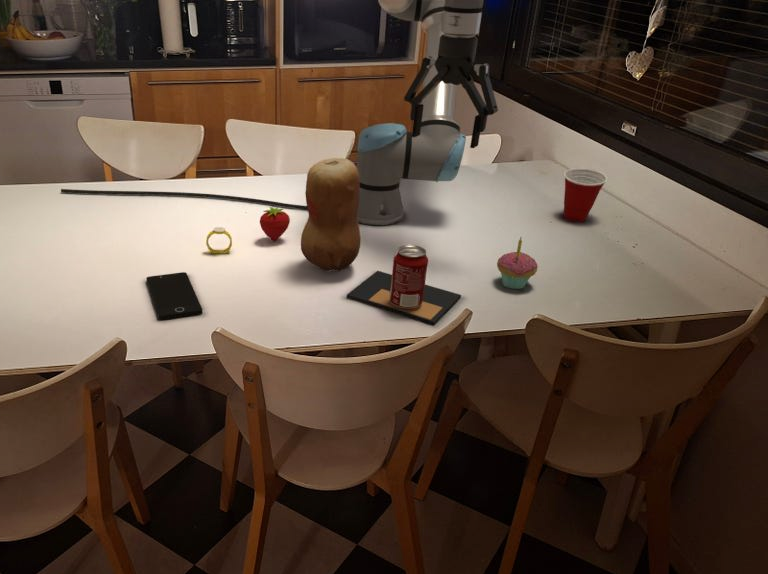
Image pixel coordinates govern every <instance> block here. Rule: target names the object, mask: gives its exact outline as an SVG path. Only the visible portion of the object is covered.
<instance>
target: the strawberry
mask: <svg viewBox="0 0 768 574" xmlns="http://www.w3.org/2000/svg"><path fill="white" fill-rule="evenodd" d="M274 206H276V205H275V204H274V205H272V206H270V207H269V209H265V210H263V211H262V212H263V214H262V215H261V216H260V217H259V218H260V219H259V226H260V228H261V230H262V231H263V233H264V234H265V235H266V237H268V238H269V239H270V240H271V241H272V242H277V241H278V240H279V239H280V238H281V237H282V235H284V233H285V232H286V231H287V230H288V228H289V225H290V222H291V219H290V215H288V213H287V212H285V211H283V210H284V208H278V207H275V208H274Z"/></svg>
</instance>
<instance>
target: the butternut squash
mask: <svg viewBox="0 0 768 574" xmlns="http://www.w3.org/2000/svg"><path fill="white" fill-rule="evenodd" d="M359 180H360V176H359V173H358V170H357V165H356V164H355V163H354V162H353V161H352V160H350V159H348V158H343V157H329V158H326V159H322V160H320V161H318V162H316V163H314V164H313V165H312V166H311V167H310V168H309V169H308V172H307V174H306V183H305V193H304V194H305V203H306V206H307V209H308V210H307V213H308V218H307V220H306V222H305V225H304V227H303V229H302V232H301V236H300V237H301V238H300V250H301V252H302V255H303V257H304V258H305V260H306V261H308V262H309V263H311V264H312V265H314V266H315V267H317V268H318V269H320V270H322V271H323V272H330V271H336V272H341V271H345V270H346V269H349V267H350V266H351V265H352V264H353V262H355V260H356V259H357V258H358V255H359V252H360V248H361V243H362V237H361V232H360V231H361V230H360V223H359V222H358V206H359V200H360V186H359Z"/></svg>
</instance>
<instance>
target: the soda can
mask: <svg viewBox="0 0 768 574" xmlns="http://www.w3.org/2000/svg"><path fill="white" fill-rule="evenodd" d="M428 265H429V258H428V256H427V250H426V249H425V248H424V247H422V246H420V245H416V244H403V245H400V246H399V247H398V248H397V252H396V253H395V254H394V255H393V259H392V271H391V275H392V279H391V288H390V297H389V301H390V302H391V304H393V305H394V306H396V307H398V308H400V309H414V308H417V307H419V306H420V305H421V304H422V301H423V293H424V286H425V285H426V278H427V272H428V271H427V270H428Z"/></svg>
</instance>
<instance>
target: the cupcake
mask: <svg viewBox="0 0 768 574" xmlns="http://www.w3.org/2000/svg"><path fill="white" fill-rule="evenodd" d="M522 245H523V239H522V236H520V238H519V239H518V242H517V247H516V251H511V252H508V253H504V254H503V255H501V256H500V257H498V259H497V262H496V266H497V269H498V272H500V275H501V283H502V285H503V286H504V287H506V288H508V289H512V290H520V289H523V288H525V286H526V284H527V283H528V282H529V280H530V278H531V277H533V276H534V275H535V274H536V273H537V272H538V267H539V266H538V262H537V261H536V260H535V259H534V258H533V257H531V255H529V254H527V253H524V252H522V251H521V249H522Z"/></svg>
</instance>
